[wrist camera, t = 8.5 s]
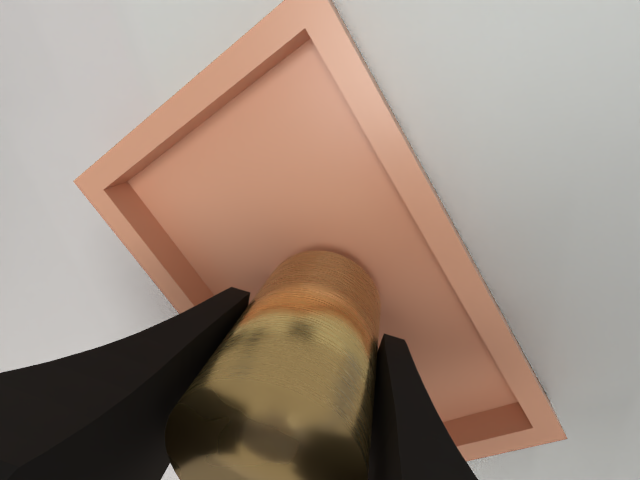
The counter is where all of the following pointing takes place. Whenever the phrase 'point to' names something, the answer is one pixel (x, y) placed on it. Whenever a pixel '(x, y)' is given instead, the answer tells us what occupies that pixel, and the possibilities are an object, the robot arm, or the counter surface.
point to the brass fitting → (287, 381)
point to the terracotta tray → (318, 213)
